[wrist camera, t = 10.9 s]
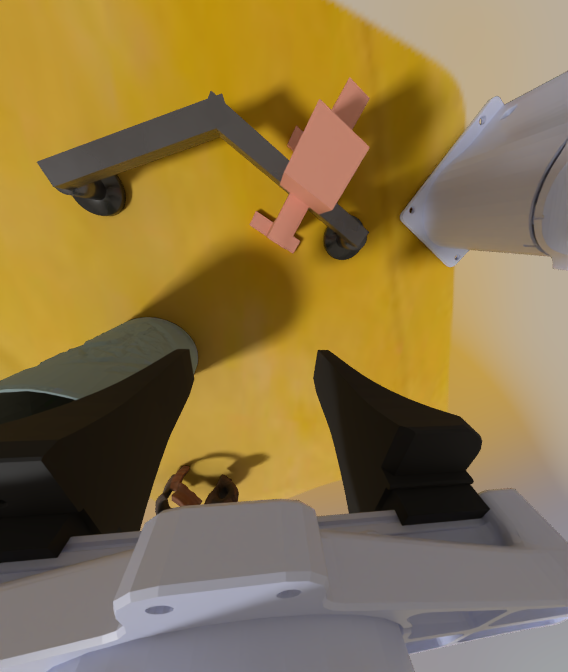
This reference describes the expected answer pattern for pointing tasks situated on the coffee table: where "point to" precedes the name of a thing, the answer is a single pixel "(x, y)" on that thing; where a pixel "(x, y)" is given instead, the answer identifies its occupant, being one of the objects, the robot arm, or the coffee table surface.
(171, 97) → the coffee table surface
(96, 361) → the green tapered cup
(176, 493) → the vr controller
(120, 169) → the wheeled bent frame
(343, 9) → the coffee table surface
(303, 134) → the pink blocky toy figure
